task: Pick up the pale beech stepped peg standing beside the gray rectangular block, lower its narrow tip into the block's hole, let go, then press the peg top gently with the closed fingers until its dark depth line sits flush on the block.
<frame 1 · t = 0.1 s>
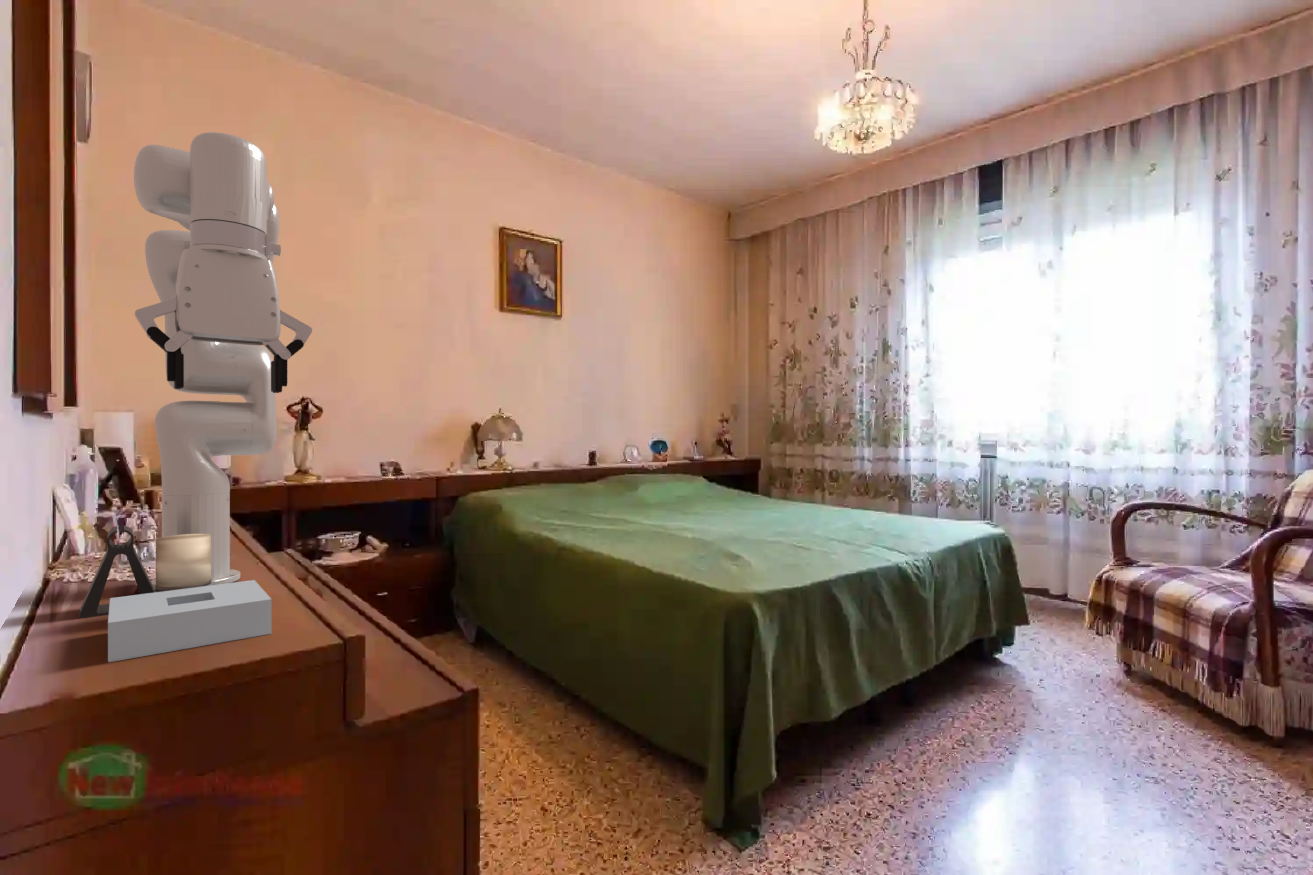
hand: (229, 390, 74), 31 cm above the table, tool pointing down, fingers open, 9 cm apart
gray rectangular block: (190, 633, 82), on the table
beech peg: (184, 613, 91), on the table
dark grey a-shaped piece: (120, 610, 93), on the table
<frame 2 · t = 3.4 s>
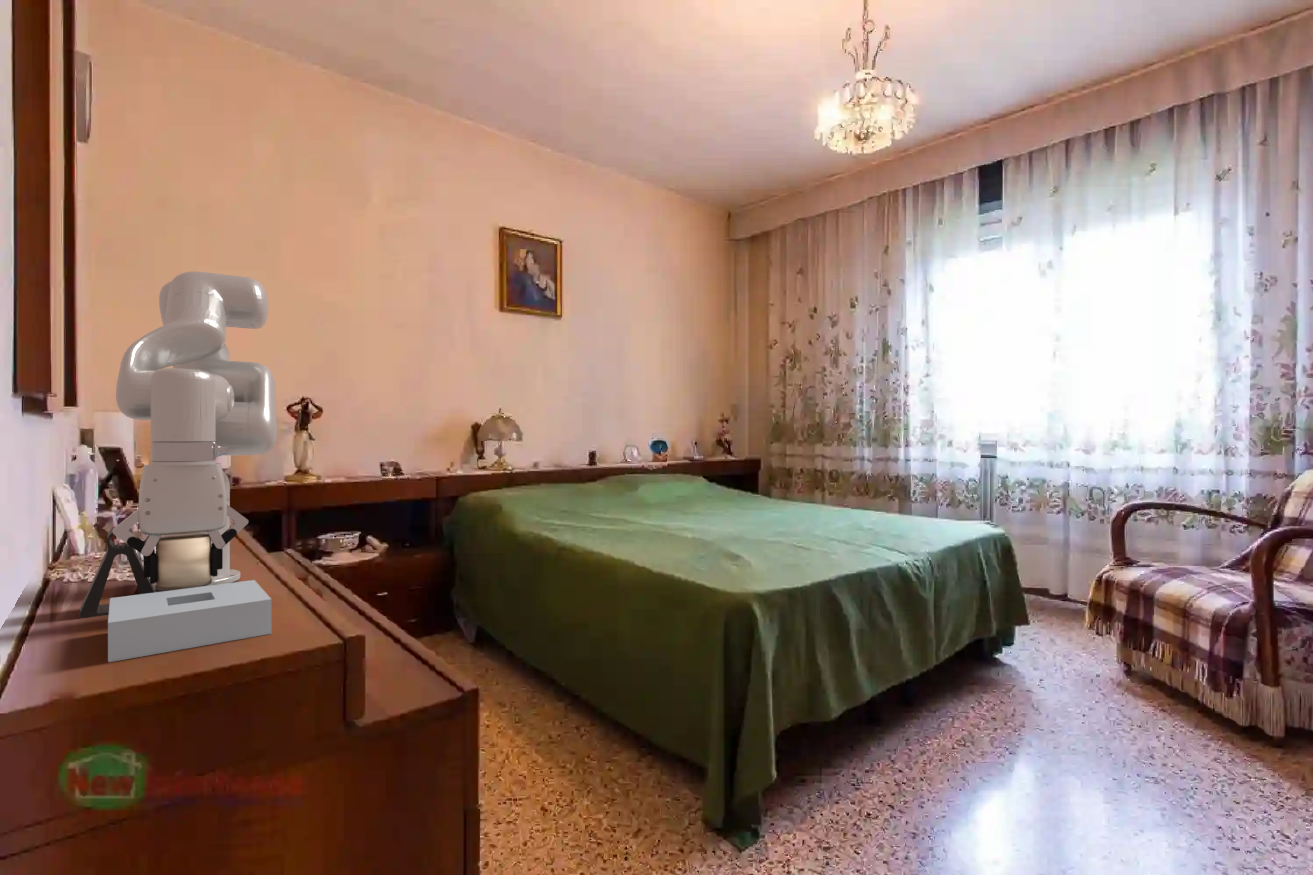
hand: (184, 577, 91), 5 cm above the table, tool pointing down, fingers closed on beech peg, 6 cm apart
beech peg: (184, 613, 91), on the table, touching gripper
everything else where it was.
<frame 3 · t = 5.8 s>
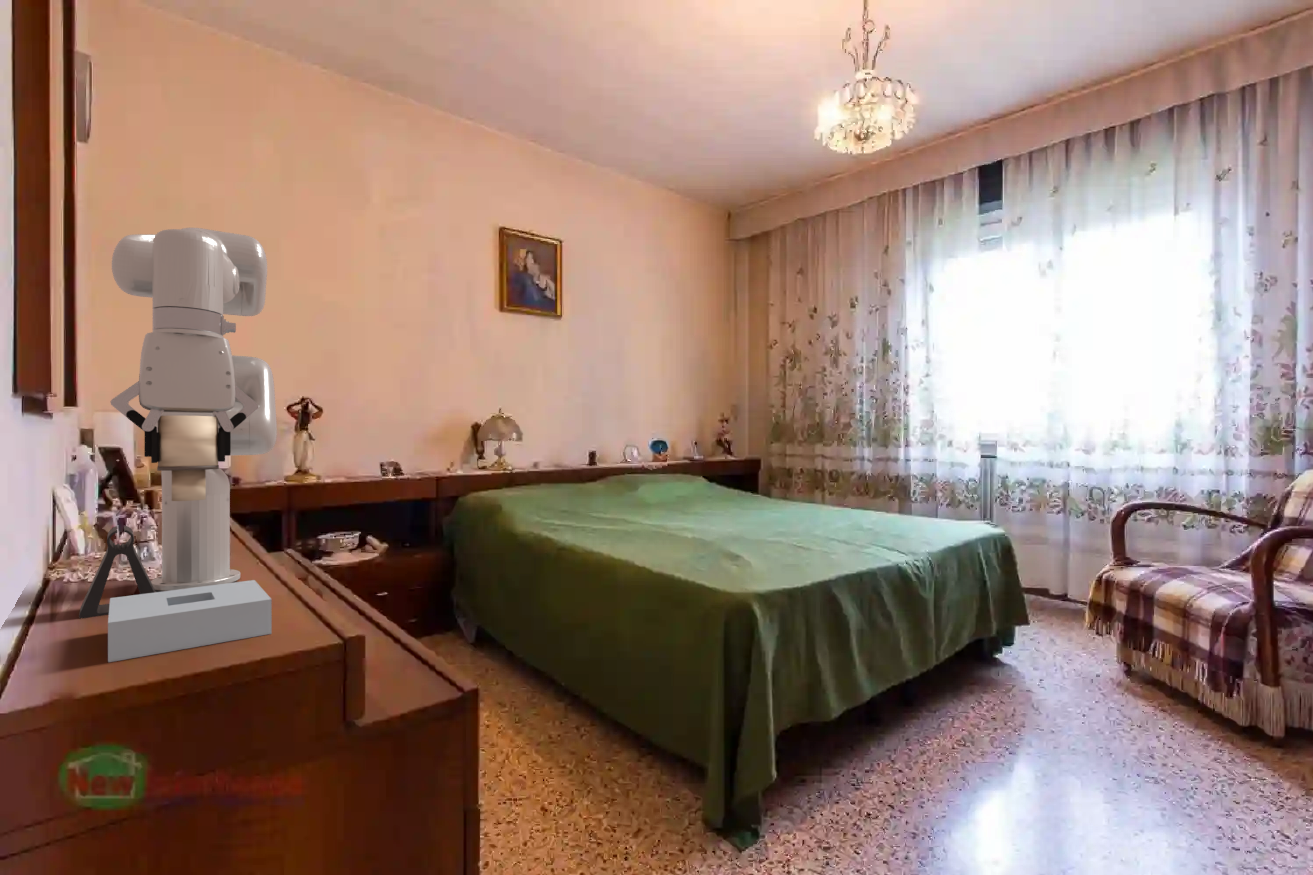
hand: (188, 460, 83), 22 cm above the table, tool pointing down, fingers closed on beech peg, 6 cm apart
beech peg: (188, 499, 83), point 17 cm above the table, touching gripper
everything else where it was.
when the fingers open (8 cm above the table, at t = 8.5 s): beech peg drops 2 cm, resting on gray rectangular block.
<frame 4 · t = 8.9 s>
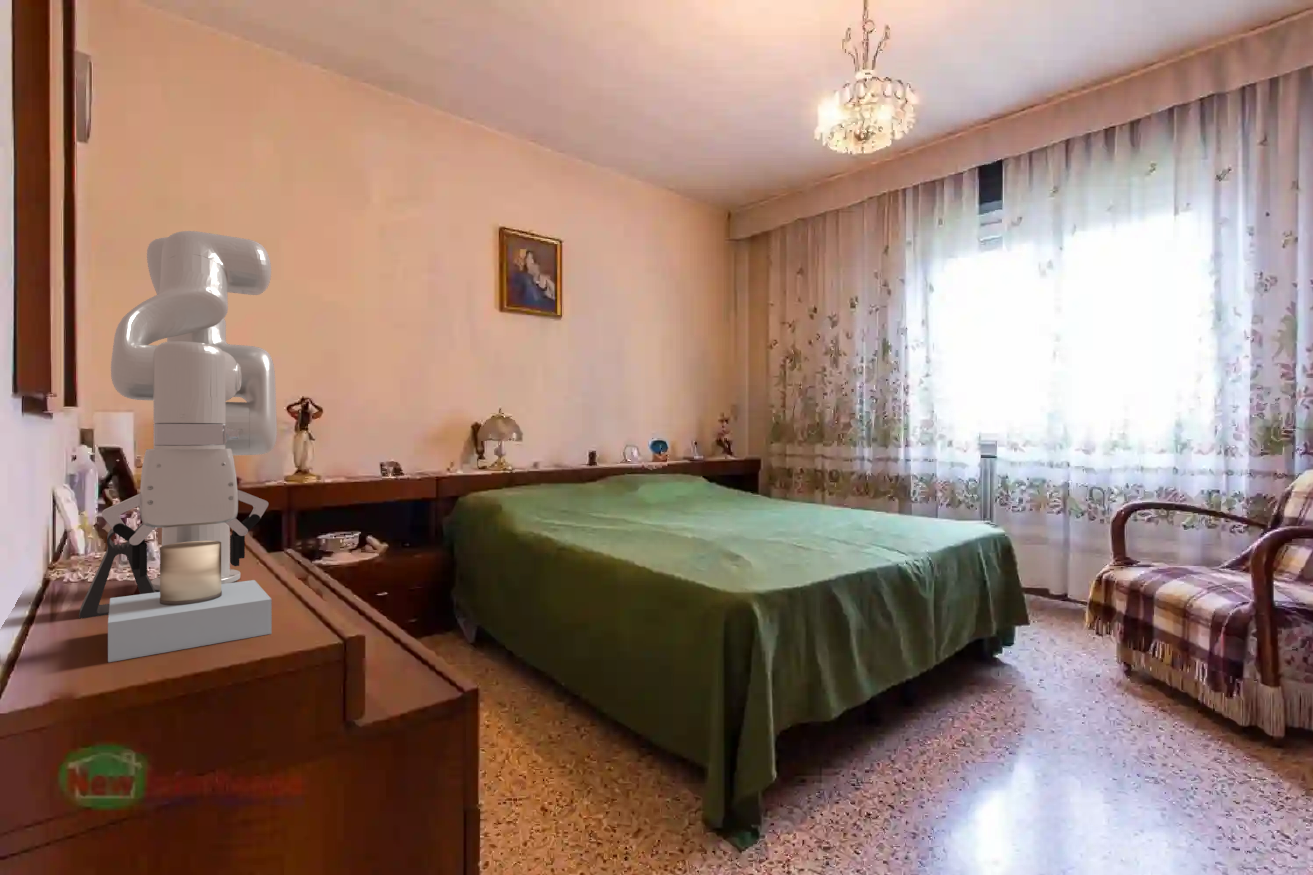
hand: (190, 569, 82), 8 cm above the table, tool pointing down, fingers open, 9 cm apart
beech peg: (191, 629, 82), resting on gray rectangular block
everything else where it was.
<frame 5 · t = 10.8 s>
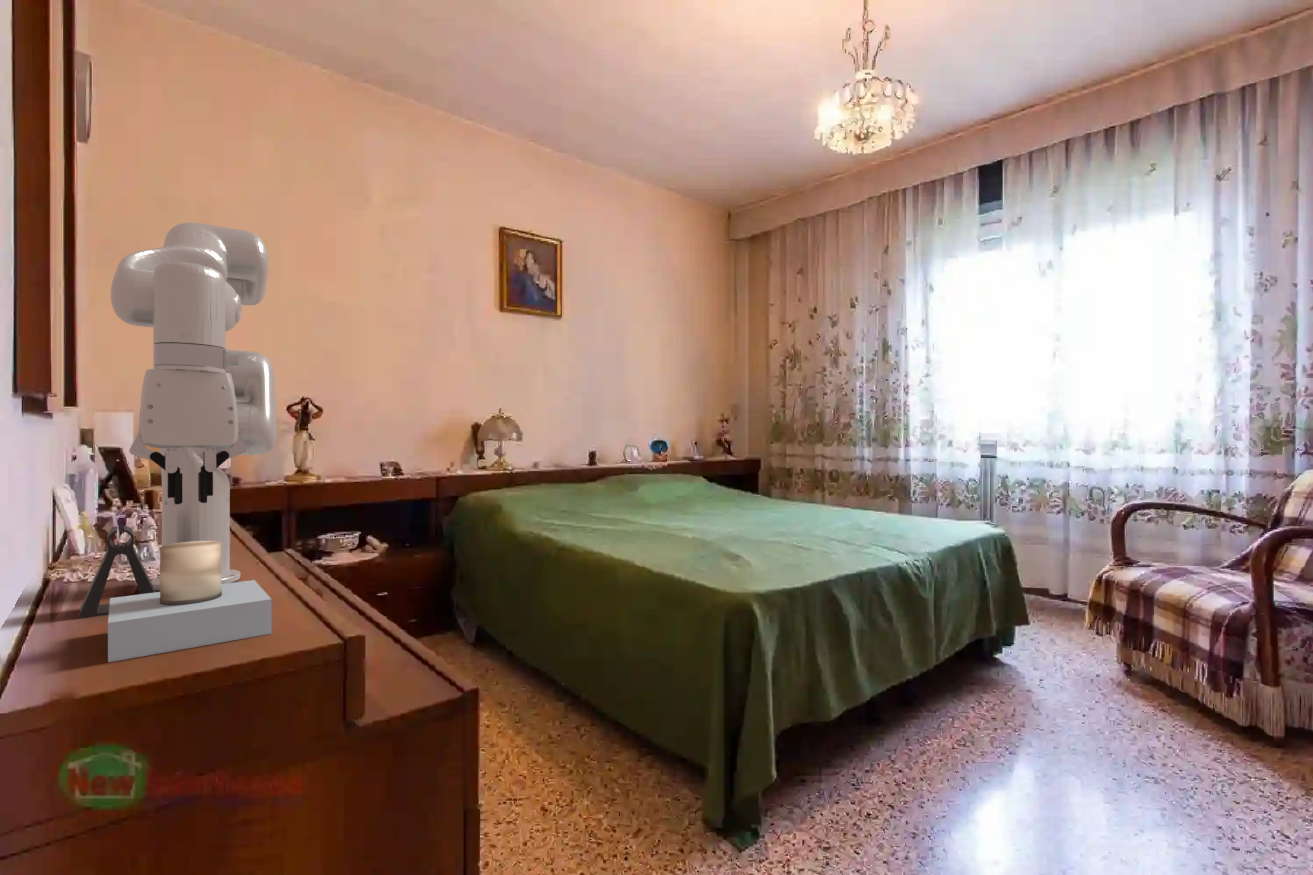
hand: (190, 501, 81), 17 cm above the table, tool pointing down, fingers closed
nothing on the table moved.
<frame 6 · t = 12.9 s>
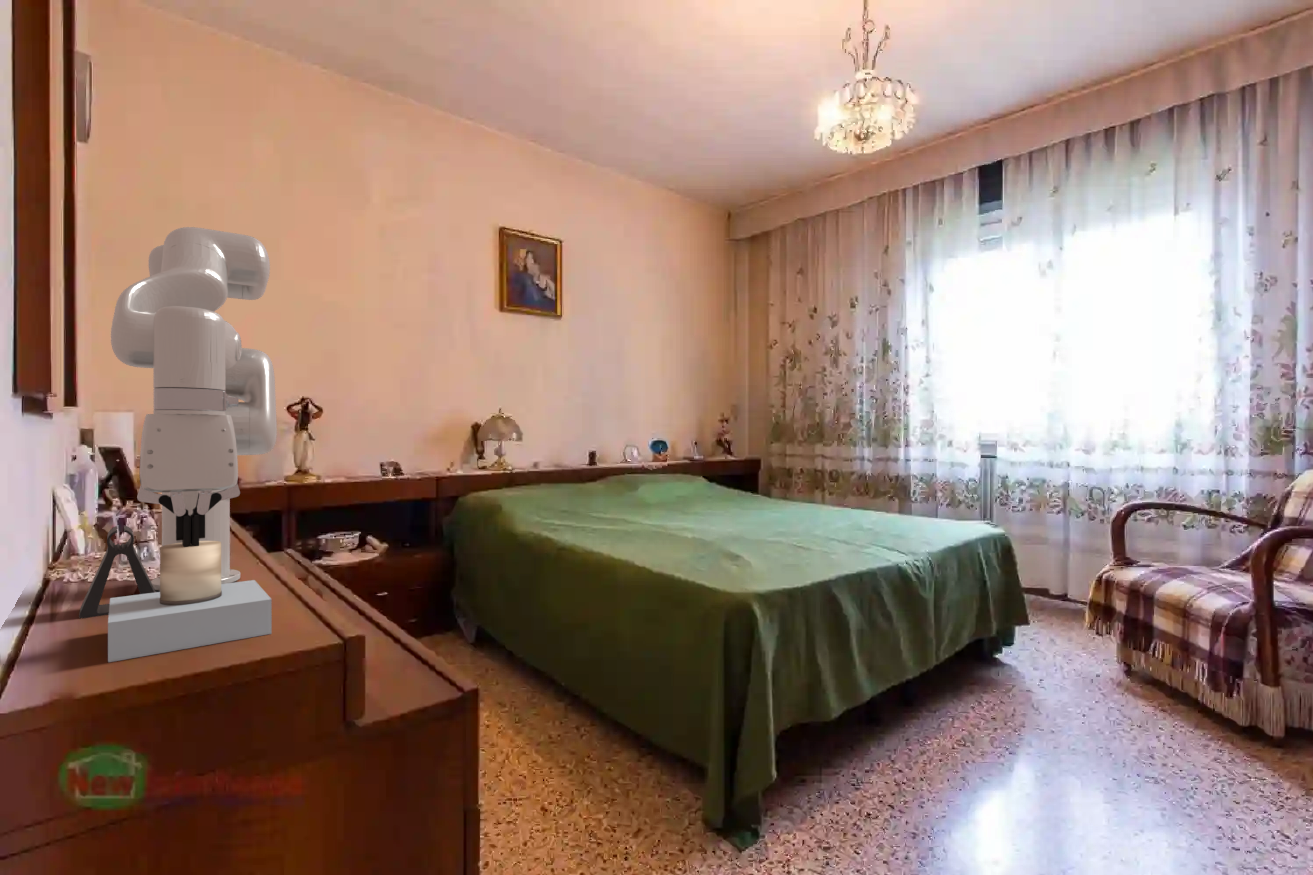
hand: (190, 544, 81), 12 cm above the table, tool pointing down, fingers closed
beech peg: (191, 629, 82), resting on gray rectangular block, touching gripper
everything else where it was.
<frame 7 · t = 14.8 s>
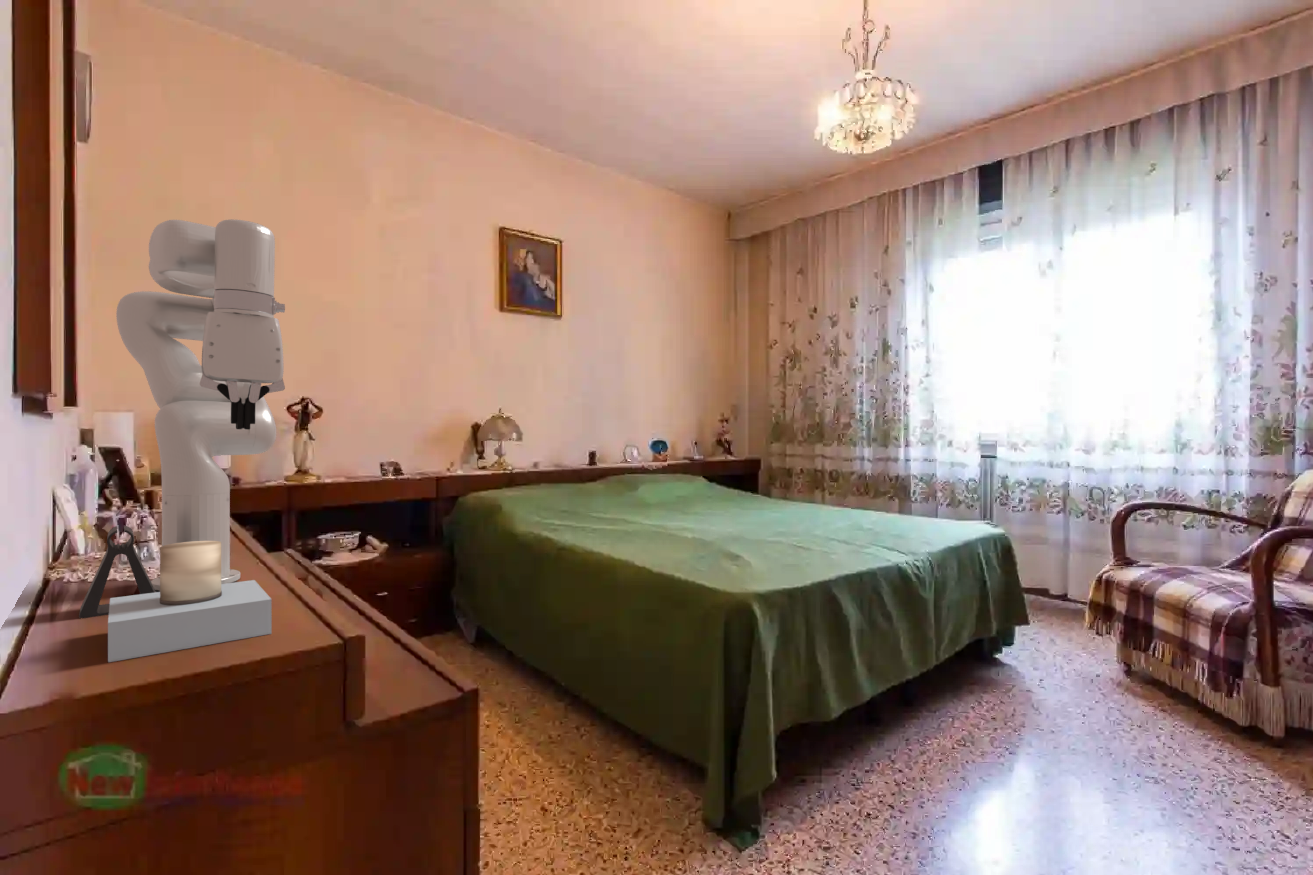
hand: (242, 428, 95), 27 cm above the table, tool pointing down, fingers closed
beech peg: (191, 629, 82), resting on gray rectangular block
everything else where it was.
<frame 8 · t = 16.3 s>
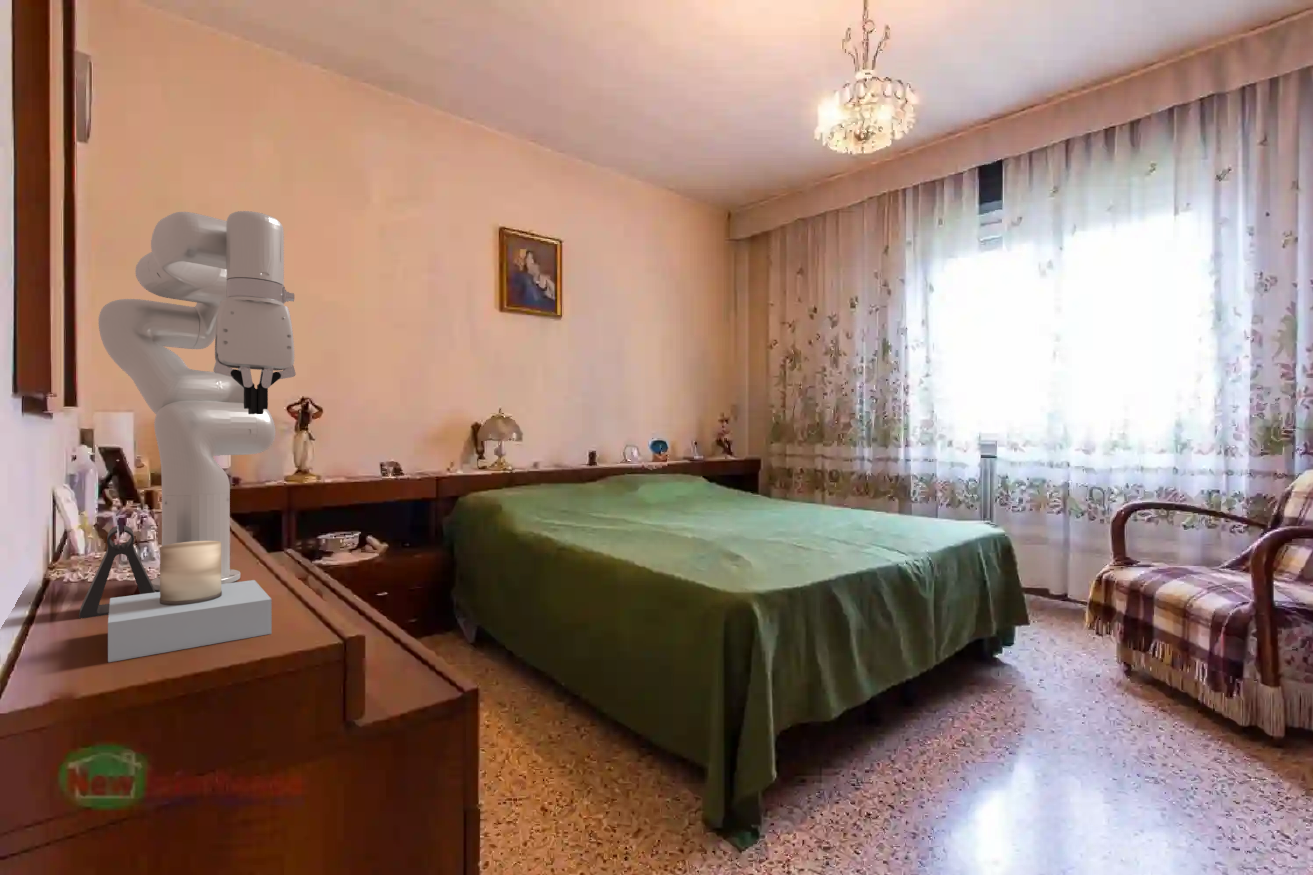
hand: (255, 413, 97), 29 cm above the table, tool pointing down, fingers closed
nothing on the table moved.
at the end: beech peg 0.1 cm off-centre on the gray rectangular block, point 0.5 cm above the gray rectangular block's base; beech peg tilted 0°; the gripper is holding nothing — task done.
